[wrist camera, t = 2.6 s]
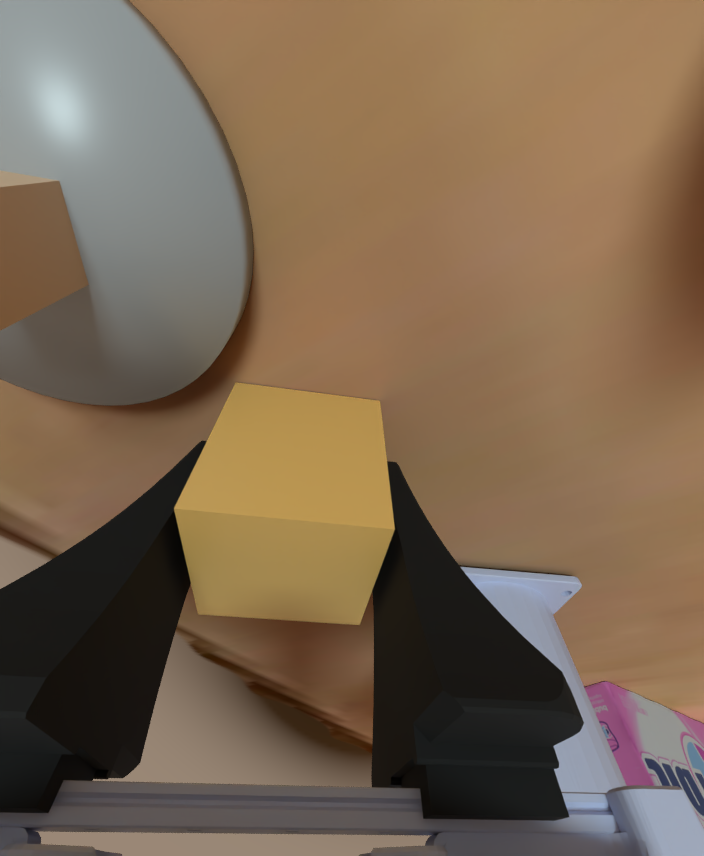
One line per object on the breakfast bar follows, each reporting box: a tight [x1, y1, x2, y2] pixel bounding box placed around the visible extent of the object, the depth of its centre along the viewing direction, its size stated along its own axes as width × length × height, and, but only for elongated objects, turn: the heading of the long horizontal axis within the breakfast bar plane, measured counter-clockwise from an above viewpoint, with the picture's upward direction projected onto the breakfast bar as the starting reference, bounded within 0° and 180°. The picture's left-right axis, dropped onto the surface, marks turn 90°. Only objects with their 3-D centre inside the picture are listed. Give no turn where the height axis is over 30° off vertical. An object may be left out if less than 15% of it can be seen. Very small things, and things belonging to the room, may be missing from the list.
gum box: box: [584, 681, 704, 829], centre depth 29 cm, size 24×8×14 cm, turn 52°
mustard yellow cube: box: [174, 382, 395, 625], centre depth 11 cm, size 5×5×5 cm
